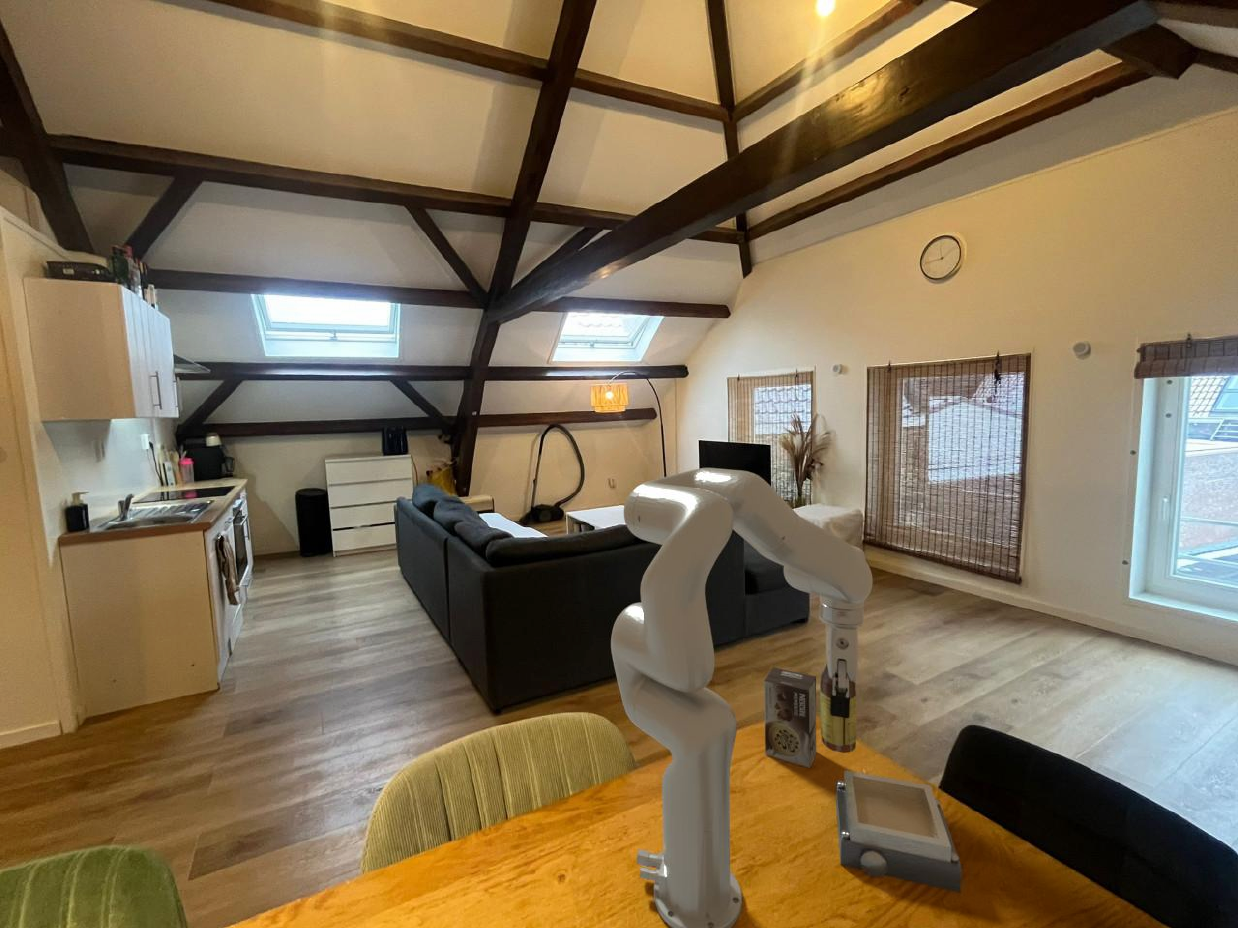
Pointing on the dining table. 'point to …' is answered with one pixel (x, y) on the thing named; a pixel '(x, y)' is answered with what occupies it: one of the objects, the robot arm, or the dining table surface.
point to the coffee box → (790, 716)
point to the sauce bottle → (837, 718)
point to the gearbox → (895, 831)
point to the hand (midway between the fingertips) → (838, 705)
